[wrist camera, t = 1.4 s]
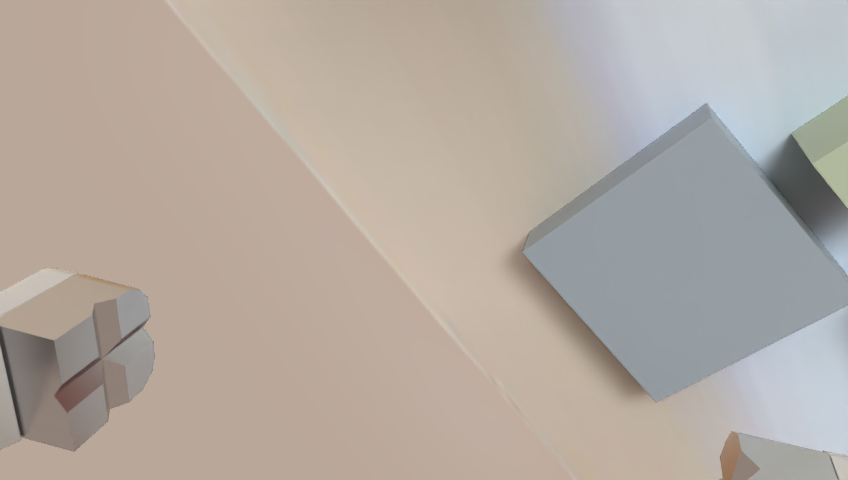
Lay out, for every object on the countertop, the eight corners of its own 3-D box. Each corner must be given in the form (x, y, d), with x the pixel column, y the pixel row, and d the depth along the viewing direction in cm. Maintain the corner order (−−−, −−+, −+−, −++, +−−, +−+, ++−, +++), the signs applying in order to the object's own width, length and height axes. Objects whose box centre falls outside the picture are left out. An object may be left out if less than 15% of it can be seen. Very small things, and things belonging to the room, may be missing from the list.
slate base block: (706, 101, 41) (711, 117, 38) (843, 268, 43) (860, 299, 40) (531, 228, 48) (522, 252, 45) (655, 369, 50) (656, 402, 46)
